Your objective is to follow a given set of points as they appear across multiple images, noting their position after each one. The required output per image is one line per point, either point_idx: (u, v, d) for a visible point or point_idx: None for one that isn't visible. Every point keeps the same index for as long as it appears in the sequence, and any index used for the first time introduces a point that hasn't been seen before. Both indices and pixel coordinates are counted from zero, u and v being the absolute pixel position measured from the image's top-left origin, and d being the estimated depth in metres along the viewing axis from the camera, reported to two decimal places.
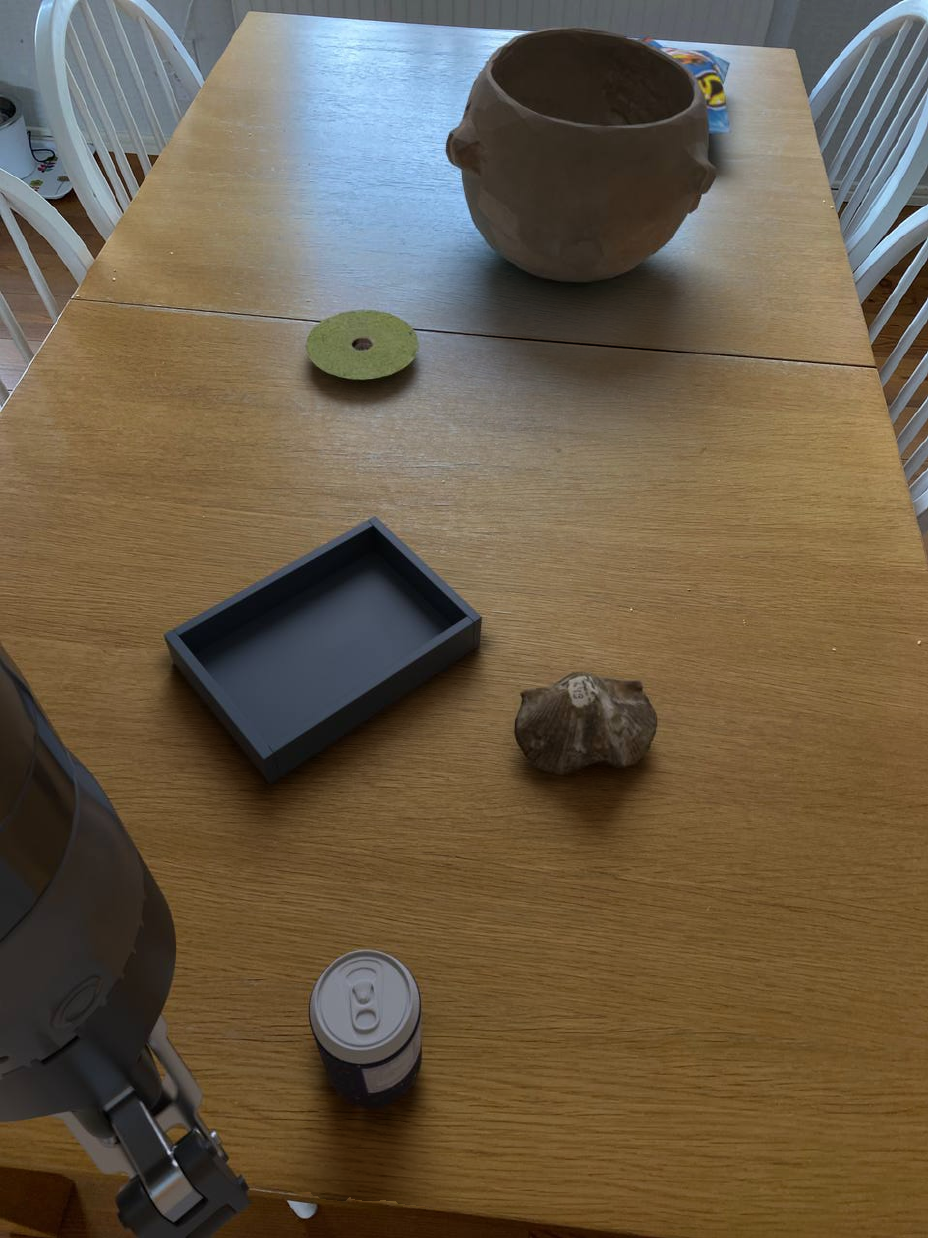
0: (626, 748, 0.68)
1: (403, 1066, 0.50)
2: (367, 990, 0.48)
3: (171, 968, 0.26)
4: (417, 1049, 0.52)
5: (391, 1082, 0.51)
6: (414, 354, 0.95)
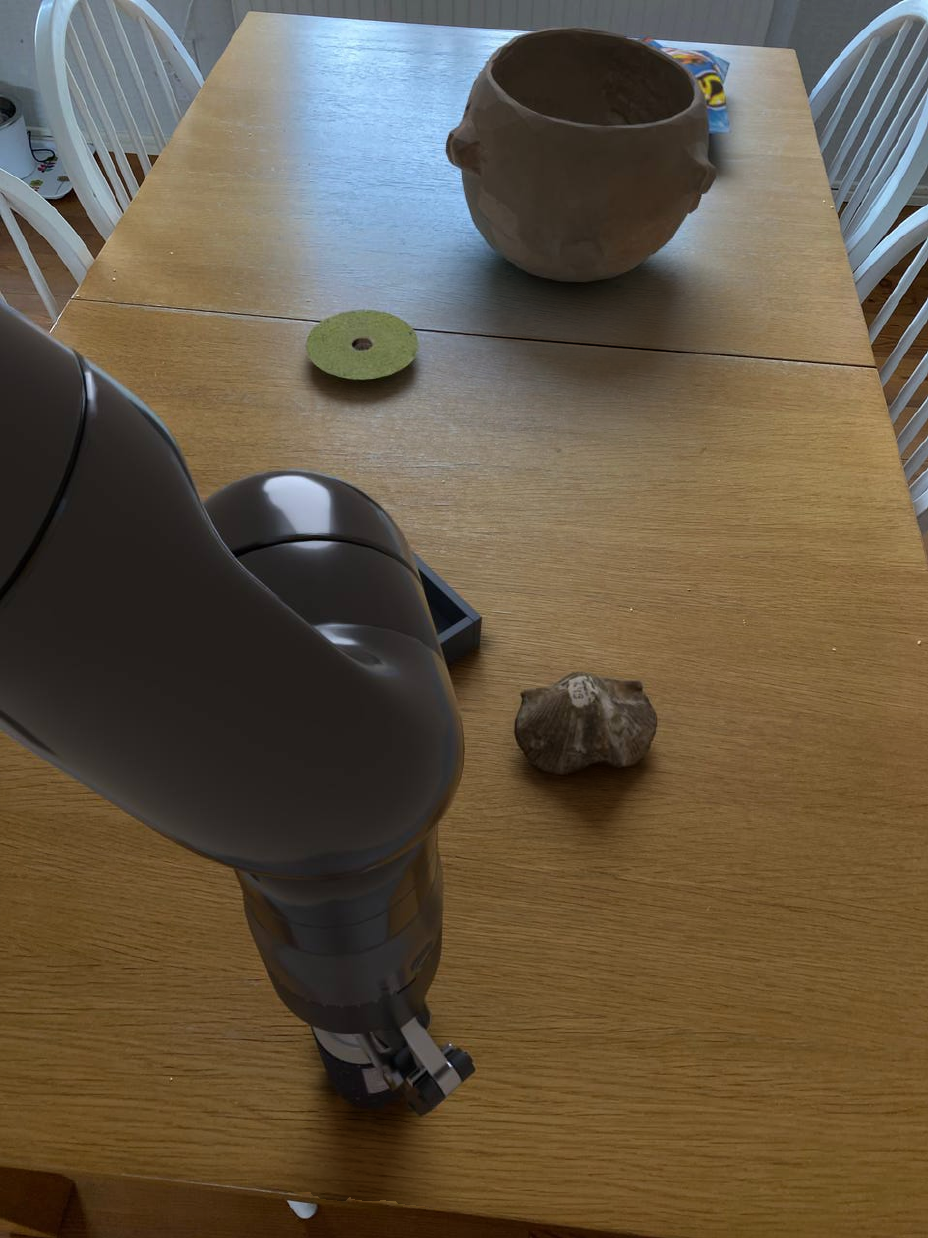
0: (626, 748, 0.68)
1: None
2: None
3: None
4: None
5: None
6: (414, 354, 0.95)
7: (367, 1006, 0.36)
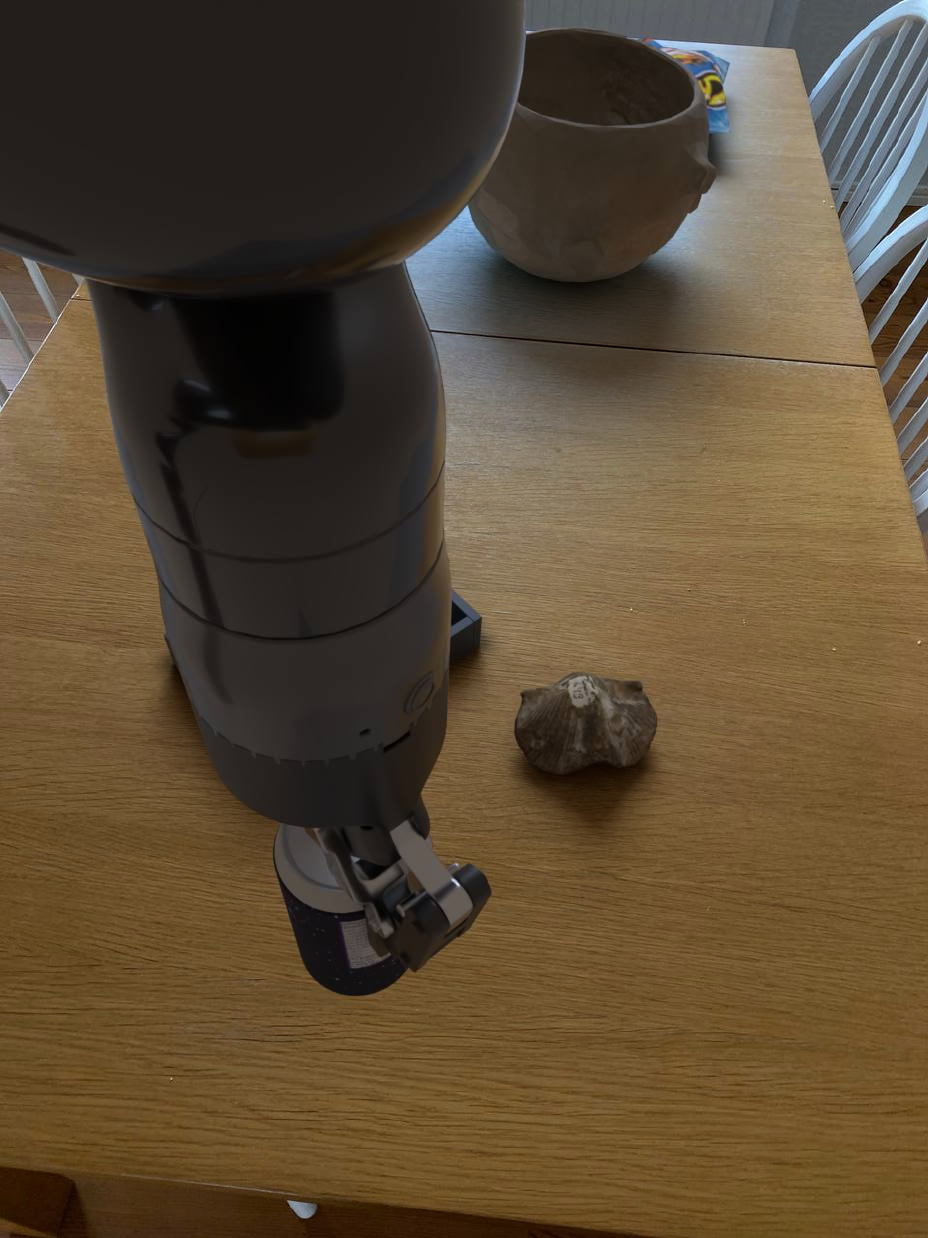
0: (626, 748, 0.68)
1: None
2: None
3: None
4: None
5: None
6: None
7: (341, 766, 0.25)
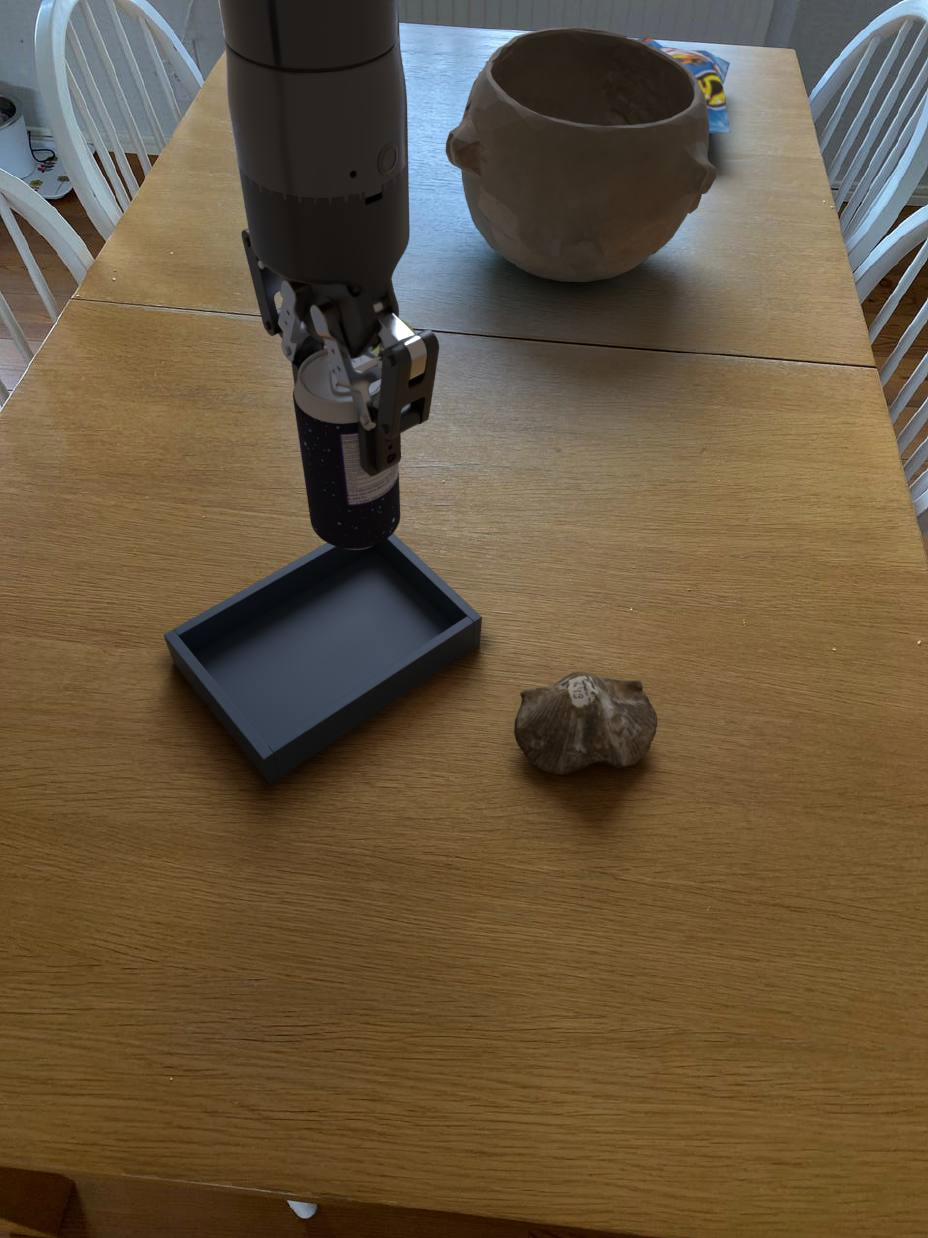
0: (626, 748, 0.68)
1: None
2: None
3: (409, 229, 0.45)
4: None
5: (369, 488, 0.55)
6: None
7: (338, 207, 0.41)
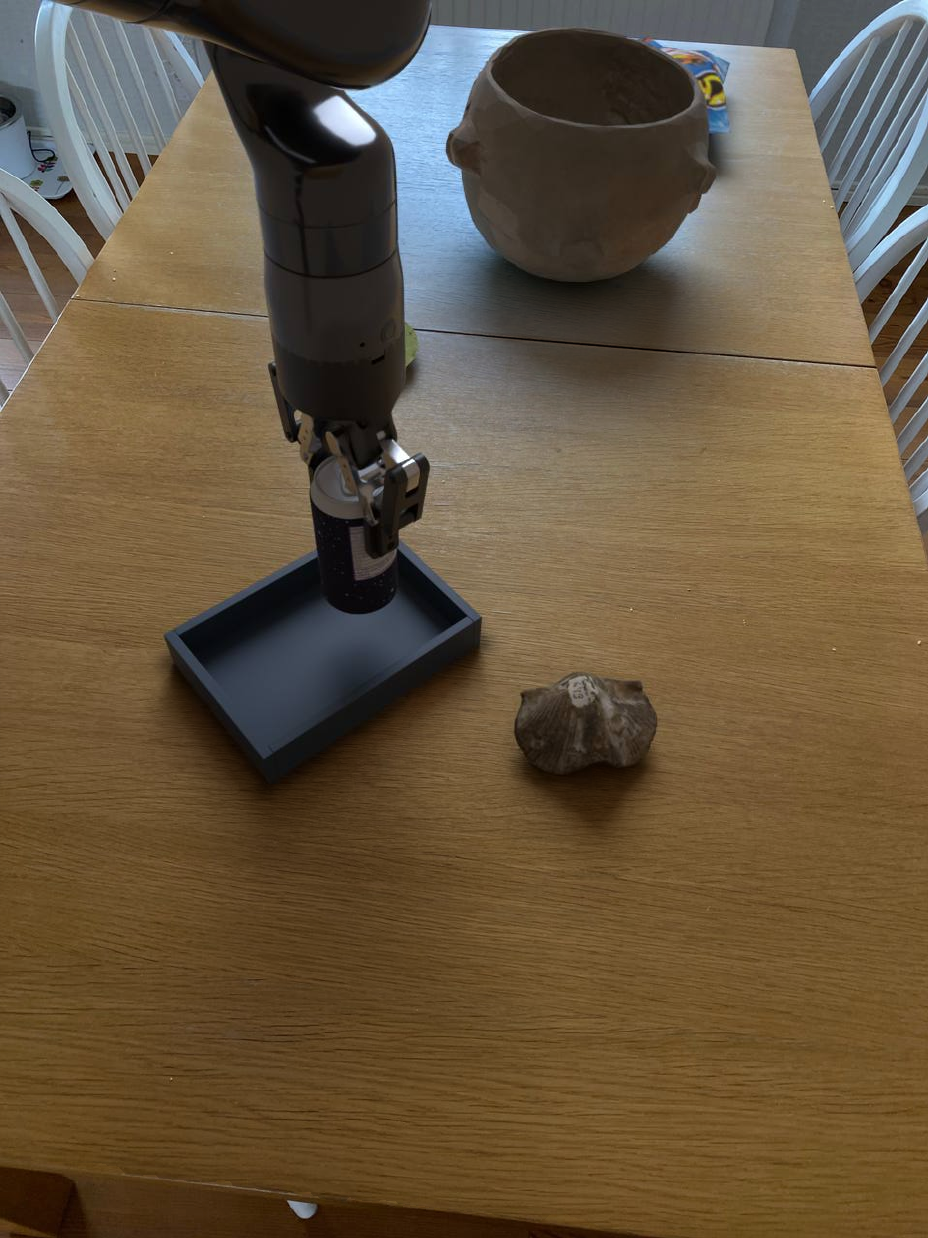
0: (626, 748, 0.68)
1: None
2: None
3: (405, 372, 0.56)
4: None
5: (372, 567, 0.66)
6: (414, 354, 0.95)
7: (350, 368, 0.52)
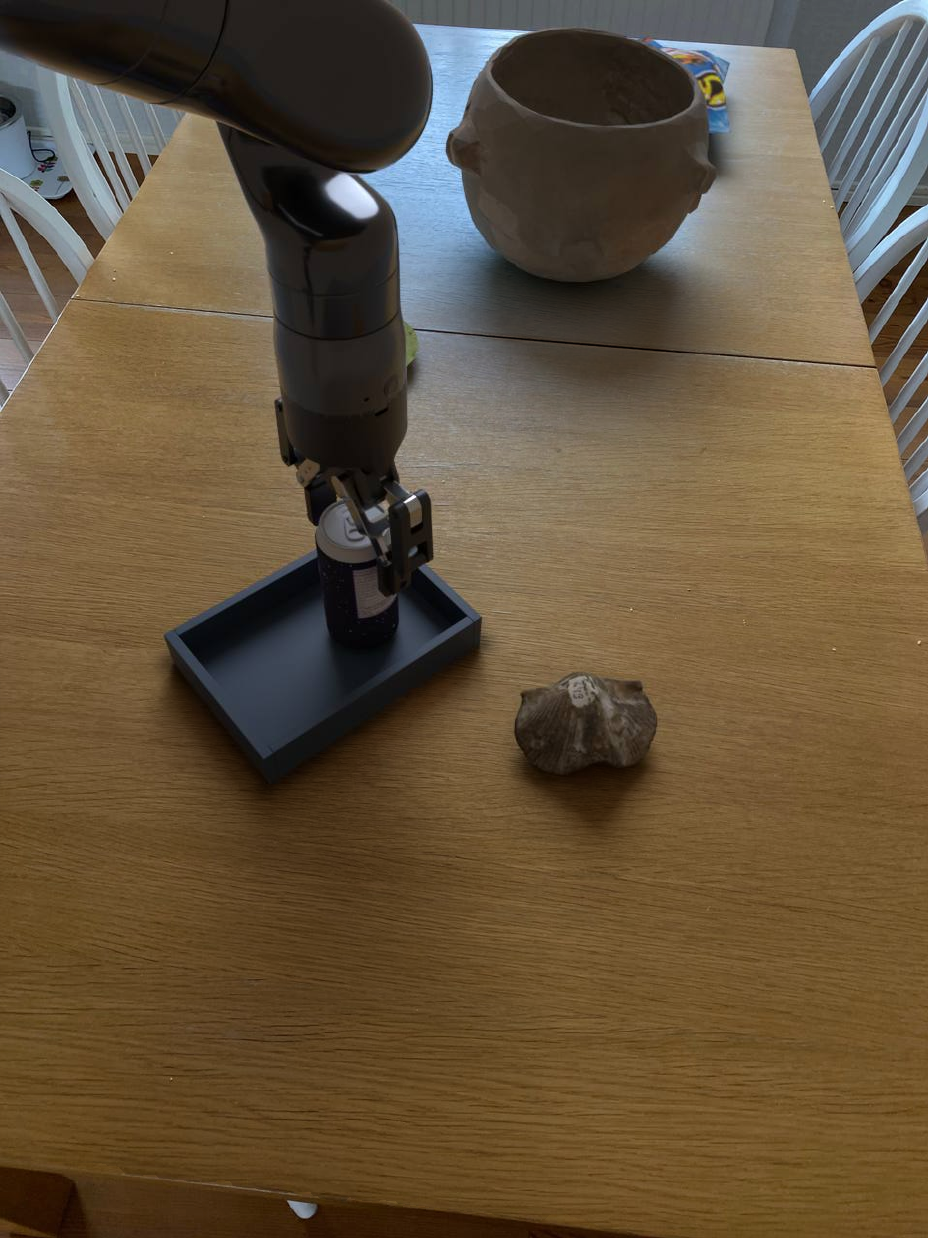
0: (626, 748, 0.68)
1: None
2: None
3: (407, 420, 0.59)
4: None
5: (375, 606, 0.70)
6: (414, 354, 0.95)
7: (355, 420, 0.55)
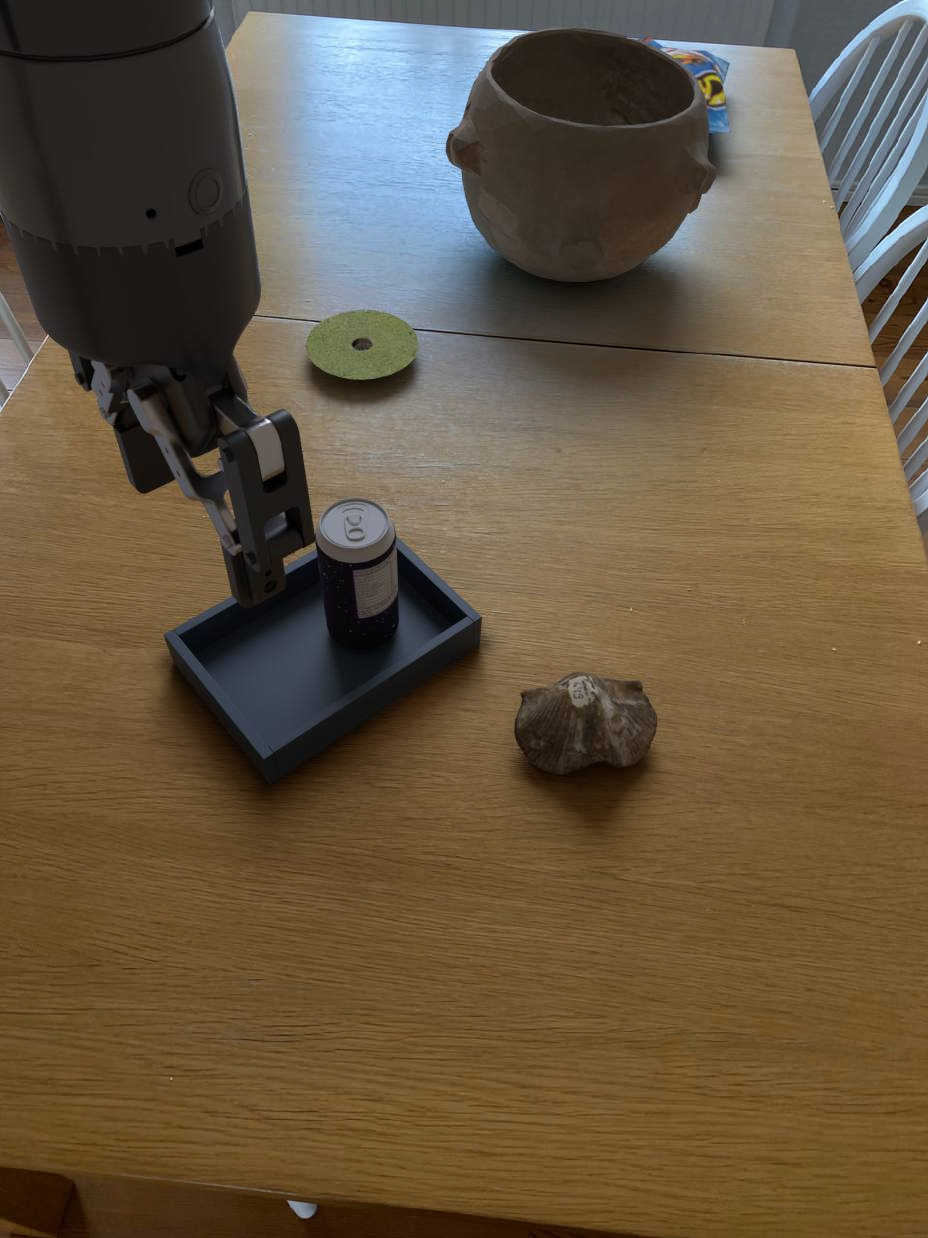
0: (626, 748, 0.68)
1: (383, 589, 0.69)
2: (357, 519, 0.67)
3: (259, 287, 0.33)
4: (394, 585, 0.70)
5: (375, 606, 0.70)
6: (414, 354, 0.95)
7: (135, 260, 0.28)
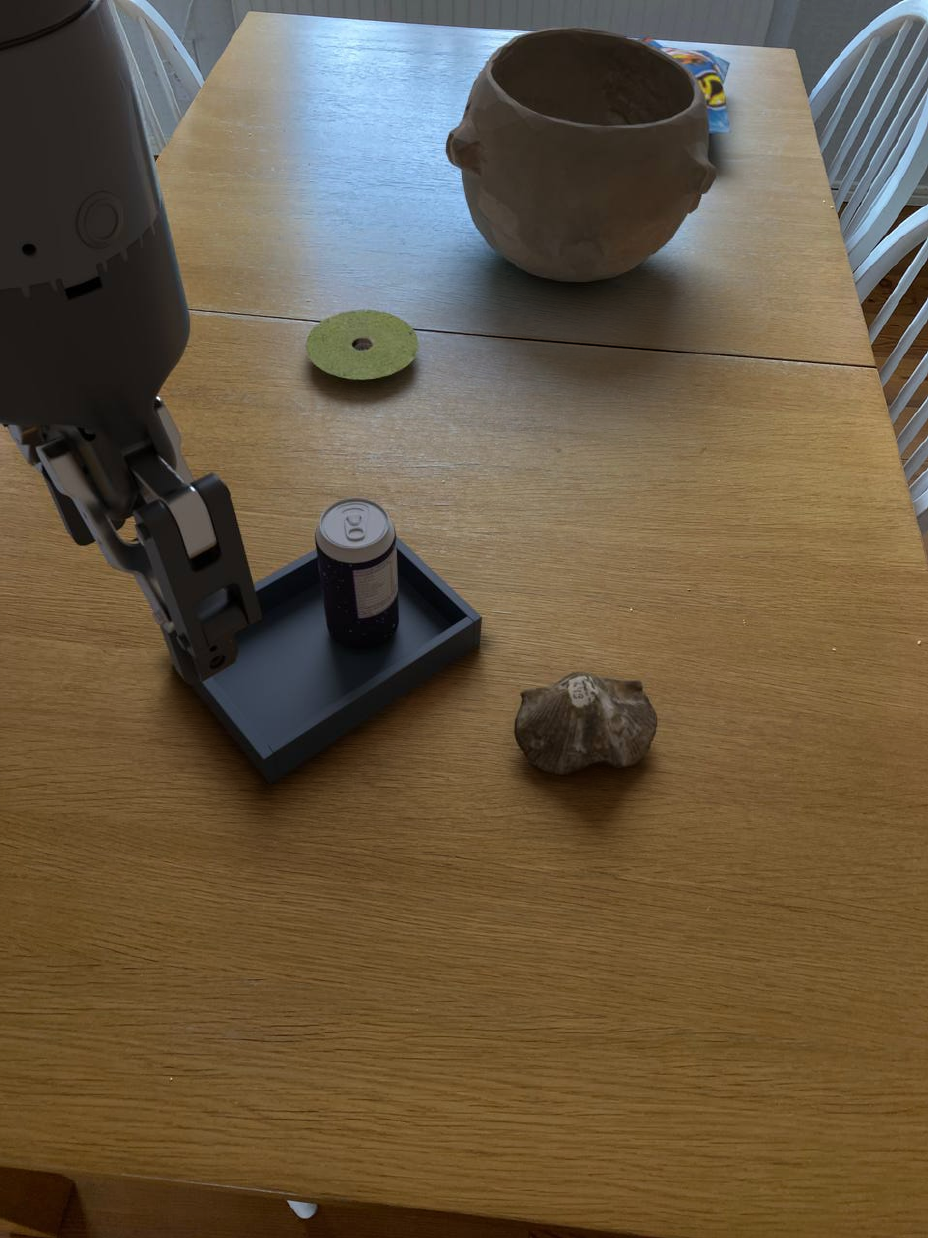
0: (626, 748, 0.68)
1: (383, 589, 0.69)
2: (357, 519, 0.67)
3: (186, 325, 0.27)
4: (394, 585, 0.70)
5: (375, 606, 0.70)
6: (414, 354, 0.95)
7: (15, 305, 0.23)
